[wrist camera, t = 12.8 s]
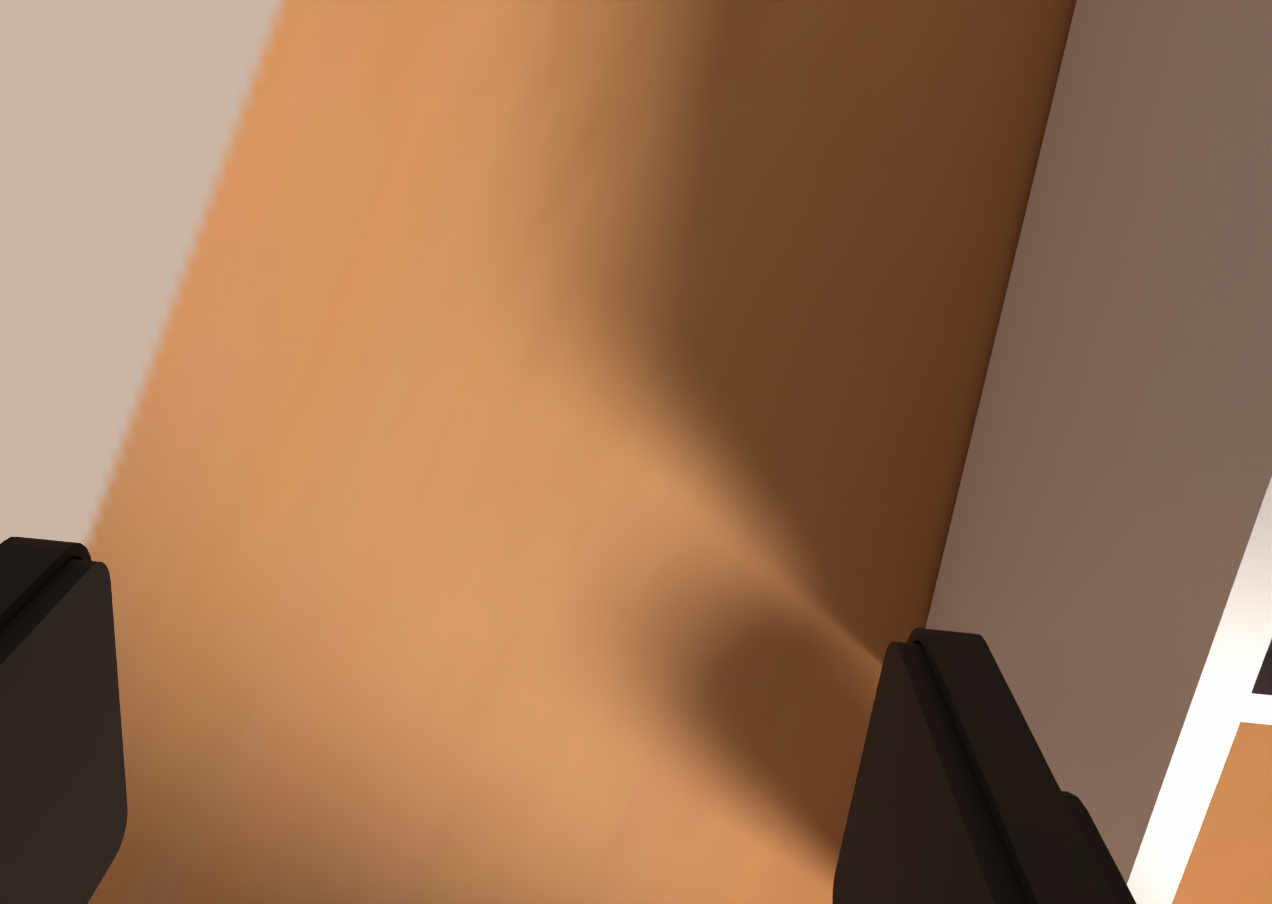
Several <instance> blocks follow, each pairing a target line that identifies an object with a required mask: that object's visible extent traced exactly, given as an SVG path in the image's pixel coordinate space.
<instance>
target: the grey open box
mask: <svg viewBox="0 0 1272 904" xmlns="http://www.w3.org/2000/svg"><path fill="white" fill-rule="evenodd" d="M925 629H934V630H944V631H954V632H964V633H974V634H979V635H981V636H982V637H983V638H984V640H985V641H986V643H987V645H988V647H989V649H990V651H991V653H992V655H993V657H994V659H995V661H996V663H997V665H998V667H999V669H1000V671H1001V673H1002V675H1003V677H1004V679H1005V681H1006V683H1007V684H1008V686H1009V688H1010V690H1011V692H1012V694H1013V696H1014V698H1015V700H1016V702H1017V704H1018V706H1019V708H1020V710H1021V712H1022V714H1023V716H1024V718H1025V720H1026V722H1027V724H1028V726H1029V728H1030V730H1031V732H1032V734H1033V736H1034V738H1035V740H1036V742H1037V744H1038V746H1039V748H1040V750H1041V752H1042V754H1043V756H1044V758H1045V760H1046V762H1047V764H1048V766H1049V768H1050V770H1051V772H1052V774H1053V776H1054V778H1055V780H1056V782H1057V783H1058V785H1059V787H1060V789H1061V791H1068V792H1070V793H1072V794H1074V795H1075V796H1077V797H1078V798H1079V799H1080V800H1081V802H1082V803H1083V804H1084V806H1085V807H1086V809H1087V810H1088V812H1089V814H1090V816H1091V818H1092V820H1093V822H1094V823H1095V825H1096V827H1097V829H1098V831H1099V833H1100V835H1101V837H1102V839H1103V841H1104V842H1105V844H1106V846H1107V848H1108V850H1109V852H1110V854H1111V856H1112V858H1113V860H1114V862H1115V863H1116V865H1117V867H1118V869H1119V871H1120V873H1121V875H1122V877H1123V879H1124V881H1125V883H1126V884H1127V886H1128V888H1129V890H1130V892H1131V894H1132V896H1133V898H1134V900H1135V902H1136V903H1137V904H1172V902H1173V899H1174V896H1175V894H1176V891H1177V888H1178V886H1179V883H1180V880H1181V878H1182V875H1183V872H1184V870H1185V867H1186V864H1187V862H1188V859H1189V856H1190V854H1191V851H1192V849H1193V846H1194V843H1195V841H1196V838H1197V835H1198V833H1199V830H1200V827H1201V825H1202V822H1203V819H1204V817H1205V814H1206V811H1207V809H1208V806H1209V803H1210V801H1211V798H1212V795H1213V793H1214V790H1215V788H1216V785H1217V782H1218V780H1219V777H1220V774H1221V772H1222V769H1223V766H1224V764H1225V761H1226V758H1227V756H1228V753H1229V750H1230V748H1231V745H1232V742H1233V740H1234V737H1235V734H1236V732H1237V729H1238V726H1239V724H1240V722H1249V723H1259V724H1269V725H1272V0H1077V1H1076V5H1075V9H1074V13H1073V18H1072V22H1071V26H1070V30H1069V34H1068V38H1067V43H1066V47H1065V51H1064V55H1063V59H1062V63H1061V67H1060V72H1059V76H1058V80H1057V84H1056V88H1055V92H1054V97H1053V101H1052V105H1051V109H1050V113H1049V117H1048V121H1047V126H1046V130H1045V134H1044V138H1043V142H1042V146H1041V150H1040V155H1039V159H1038V163H1037V167H1036V171H1035V175H1034V180H1033V184H1032V188H1031V192H1030V196H1029V200H1028V204H1027V209H1026V213H1025V217H1024V221H1023V225H1022V229H1021V233H1020V238H1019V242H1018V246H1017V250H1016V254H1015V258H1014V263H1013V267H1012V271H1011V275H1010V279H1009V283H1008V287H1007V292H1006V296H1005V300H1004V304H1003V308H1002V312H1001V317H1000V321H999V325H998V329H997V333H996V337H995V341H994V346H993V350H992V354H991V358H990V362H989V366H988V370H987V375H986V379H985V383H984V387H983V391H982V395H981V400H980V404H979V408H978V412H977V416H976V420H975V424H974V429H973V433H972V437H971V441H970V445H969V449H968V454H967V458H966V462H965V466H964V470H963V474H962V478H961V483H960V487H959V491H958V495H957V499H956V503H955V507H954V512H953V516H952V520H951V524H950V528H949V532H948V537H947V541H946V545H945V549H944V553H943V557H942V561H941V566H940V570H939V574H938V578H937V582H936V586H935V590H934V595H933V599H932V603H931V607H930V611H929V615H928V620H927V624H926V628H925Z"/></svg>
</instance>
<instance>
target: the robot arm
mask: <svg viewBox="0 0 1272 904" xmlns="http://www.w3.org/2000/svg"><path fill="white" fill-rule="evenodd" d="M126 822H127V797H126V783H125V769H124V756H123V742H122V729H121V715H120V702H119V688H118V675H117V661H116V648H115V634H114V621H113V607H112V594H111V580H110V574H109V571H108V568H107V566H106V565H105V564H104V563H103V562H96V561H91V557H90V554H89V552H88V550H87V548H86V547H85V546H84V545H82V544H81V543H73V542H63V541H53V540H43V539H33V538H23V537H10V538H8V539H7V540H5V541H3V542H2V543H1V544H0V904H87V903H88V901H89V900H90V898H91V896H92V895H93V893H94V891H95V890H96V888H97V886H98V885H99V883H100V881H101V880H102V878H103V876H104V875H105V873H106V871H107V870H108V868H109V866H110V865H111V863H112V861H113V860H114V858H115V856H116V854H117V852H118V850H119V848H120V845H121V843H122V840H123V836H124V832H125V828H126ZM833 904H1137V903H1136V902H1135V900H1134V898H1133V896H1132V894H1131V892H1130V890H1129V888H1128V886H1127V884H1126V883H1125V881H1124V879H1123V877H1122V875H1121V873H1120V871H1119V869H1118V867H1117V865H1116V863H1115V862H1114V860H1113V858H1112V856H1111V854H1110V852H1109V850H1108V848H1107V846H1106V844H1105V842H1104V841H1103V839H1102V837H1101V835H1100V833H1099V831H1098V829H1097V827H1096V825H1095V823H1094V822H1093V820H1092V818H1091V816H1090V814H1089V812H1088V810H1087V809H1086V807H1085V806H1084V804H1083V803H1082V802H1081V800H1080V799H1079V798H1078V797H1077V796H1075V795H1074V794H1072V793H1070V792H1068V791H1061V789H1060V787H1059V785H1058V783H1057V782H1056V780H1055V778H1054V776H1053V774H1052V772H1051V770H1050V768H1049V766H1048V764H1047V762H1046V760H1045V758H1044V756H1043V754H1042V752H1041V750H1040V748H1039V746H1038V744H1037V742H1036V740H1035V738H1034V736H1033V734H1032V732H1031V730H1030V728H1029V726H1028V724H1027V722H1026V720H1025V718H1024V716H1023V714H1022V712H1021V710H1020V708H1019V706H1018V704H1017V702H1016V700H1015V698H1014V696H1013V694H1012V692H1011V690H1010V688H1009V686H1008V684H1007V683H1006V681H1005V679H1004V677H1003V675H1002V673H1001V671H1000V669H999V667H998V665H997V663H996V661H995V659H994V657H993V655H992V653H991V651H990V649H989V647H988V645H987V643H986V641H985V640H984V638H983V637H982V636H981V635H979V634H974V633H964V632H954V631H944V630H934V629H924V628H916V629H915V630H913V631H912V633H911V635H910V637H909V639H908V642H907V643H902V642H892V643H890V644H889V646H888V648H887V651H886V654H885V657H884V662H883V666H882V670H881V675H880V679H879V683H878V688H877V692H876V697H875V701H874V705H873V710H872V714H871V718H870V723H869V727H868V732H867V736H866V740H865V745H864V749H863V754H862V758H861V762H860V767H859V771H858V775H857V780H856V784H855V789H854V793H853V797H852V802H851V806H850V810H849V815H848V819H847V824H846V828H845V832H844V837H843V841H842V845H841V850H840V854H839V859H838V863H837V867H836V872H835V877H834V884H833Z"/></svg>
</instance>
